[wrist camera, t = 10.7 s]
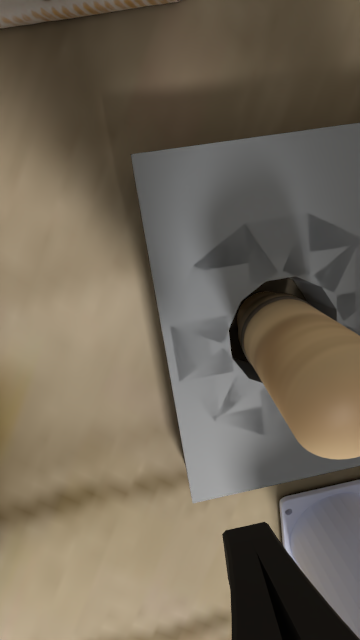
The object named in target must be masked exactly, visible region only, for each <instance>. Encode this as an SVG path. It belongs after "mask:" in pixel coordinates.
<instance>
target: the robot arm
mask: <svg viewBox="0 0 360 640" xmlns="http://www.w3.org/2000/svg"><path fill="white" fill-rule="evenodd" d="M279 505H280V517H281V529H282V541H283V545H282V544H281V542H280V541H279V540H278V538H277V537H276V535H275V534H274V532H273V531H272V529H271V528H270V526H269V525H268V524H267V523H265V522H262V523H258V524H253V525H249V526H244V527H240V528H235V529H231V530H226V531H225V532H224V533H223V534H222V535H223V542H224V550H225V558H226V565H227V573H228V580H229V585H230V589H231V612H232V640H360V479H359V480H355V481H351V482H346V483H342V484H337V485H333V486H329V487H324V488H320V489H316V490H311V491H307V492H302V493H298V494H294V495H289V496H285V497H283V498H282V499H281V500H280V503H279ZM287 509H288V510H287Z"/></svg>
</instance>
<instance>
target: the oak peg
mask: <svg viewBox="0 0 360 640" xmlns="http://www.w3.org/2000/svg"><path fill="white" fill-rule="evenodd" d="M237 325H238V338H239V342H240V345H241V347H242V350H243V352H244V354H245V356H246V358H247V359H248V361H249V362H250V363H251V365H252V366H253V367H254V369H255V371H256V372H257V374H258V376H259V378H260V379H261V381H262V383H263V384H264V386H265V388H266V389H267V391H268V393H269V394H270V396H271V398H272V399H273V401H274V403H275V404H276V406H277V408H278V409H279V411H280V413H281V414H282V416H283V418H284V419H285V421H286V423H287V424H288V426H289V428H290V429H291V431H292V433H293V434H294V436H295V438H296V439H297V441H298V442H299V443H300V444H301V445H302V447H304V448H305V449H306V450H307V451H309V452H311V453H313V454H315V455H317V456H320V457H323V458H328V459H350V458H356V457H359V456H360V336H359V335H358V334H356V333H355V332H353V331H351V330H350V329H348V328H346V327H345V326H343V325H341V324H340V323H338V322H337V321H335V320H333V319H332V318H330V317H328V316H327V315H325V314H324V313H322V312H320V311H319V310H317V309H315V308H314V307H313V306H312V305H311V304H309V303H308V302H306V301H304V300H302V299H300V298H297V297H295V296H293V295H290V294H286V293H274V292H267V291H266V292H259V293H256V294H254V295H252V296H250V297H249V298H247V299H246V300H245V301H244V302H243V304H242V305H241V307H240V309H239V311H238V314H237Z"/></svg>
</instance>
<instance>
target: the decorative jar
mask: <svg viewBox="0 0 360 640" xmlns="http://www.w3.org/2000/svg"><path fill="white" fill-rule="evenodd" d="M179 1H181V0H0V29H1V28H8V27H13V26H20V25H29V24H36V23H41V22H45V21H57V20H62V19H72V18H76V17H82V16H90V15H95V14H102V13H109V12H113V11H120V10H126V9H132V8H139V7H146V6H151V5H159V4H167V3H173V2H179Z"/></svg>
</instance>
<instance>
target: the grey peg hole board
mask: <svg viewBox="0 0 360 640" xmlns="http://www.w3.org/2000/svg"><path fill="white" fill-rule="evenodd" d="M131 158H132V165H133V172H134V178H135V183H136V189H137V195H138V200H139V206H140V212H141V217H142V223H143V228H144V234H145V240H146V245H147V251H148V257H149V262H150V268H151V273H152V279H153V285H154V290H155V296H156V302H157V307H158V313H159V319H160V324H161V330H162V335H163V341H164V347H165V352H166V358H167V364H168V369H169V375H170V381H171V386H172V392H173V397H174V403H175V409H176V414H177V420H178V426H179V431H180V437H181V442H182V448H183V454H184V459H185V465H186V470H187V476H188V481H189V486H190V491H191V497H192V502H193V503H197V502H201V501H205V500H210V499H214V498H219V497H223V496H228V495H232V494H236V493H241V492H245V491H250V490H254V489H259V488H263V487H268V486H272V485H276V484H281V483H285V482H290V481H294V480H299V479H303V478H308V477H312V476H316V475H321V474H325V473H330V472H334V471H339V470H343V469H348V468H352V467H356V466H360V456H359V457H356V458H350V459H328V458H323V457H320V456H317V455H315V454H313V453H311V452H309V451H307V450H306V449H305V448H304V447H302V445H301V444H300V443H299V442H298V441H297V439H296V438H295V436H294V434H293V433H292V431H291V429H290V428H289V426H288V424H287V423H286V421H285V419H284V418H283V416H282V414H281V413H280V411H279V409H278V408H277V406H276V404H275V403H274V401H273V399H272V398H271V396H270V394H269V393H268V391H267V389H266V388H265V386H264V384H263V383H262V381H261V379H260V378H259V376H258V374H257V372H256V371H255V369H254V367H253V366H252V365H251V364H250V363H247V362H244V361H241V360H238V359H235V358H233V357H232V354H231V346H230V337H229V328H230V326H231V323H232V321H233V319H234V316H235V314H236V312H237V309H238V307H239V305H240V302H241V301H242V300H243V299H244V298H246V297H247V296H248V295H249V294H251V293H252V292H253V291H254V290H256V289H257V288H258V287H259V286H261V285H262V284H263V283H264V282H266V281H271V280H277V279H283V278H290V279H293V280H294V282H295V283H296V285H297V286H298V288H299V289H300V291H301V292H302V294H303V295H304V296H305V298H306V302H308V303H309V304H311V305H312V306H313V307H314V308H315V309H317V310H319V311H320V312H322V313H324V314H325V315H327V316H328V317H330V318H332V319H333V320H335V321H337V322H338V323H340V324H341V325H343V326H345V327H346V328H348V329H350V330H351V331H353V332H355V333H356V334H358V335H359V336H360V123H354V124H347V125H340V126H332V127H325V128H318V129H311V130H303V131H296V132H289V133H282V134H274V135H267V136H260V137H253V138H245V139H238V140H231V141H224V142H217V143H209V144H202V145H195V146H188V147H180V148H173V149H166V150H159V151H151V152H144V153H137V154H131Z"/></svg>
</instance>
